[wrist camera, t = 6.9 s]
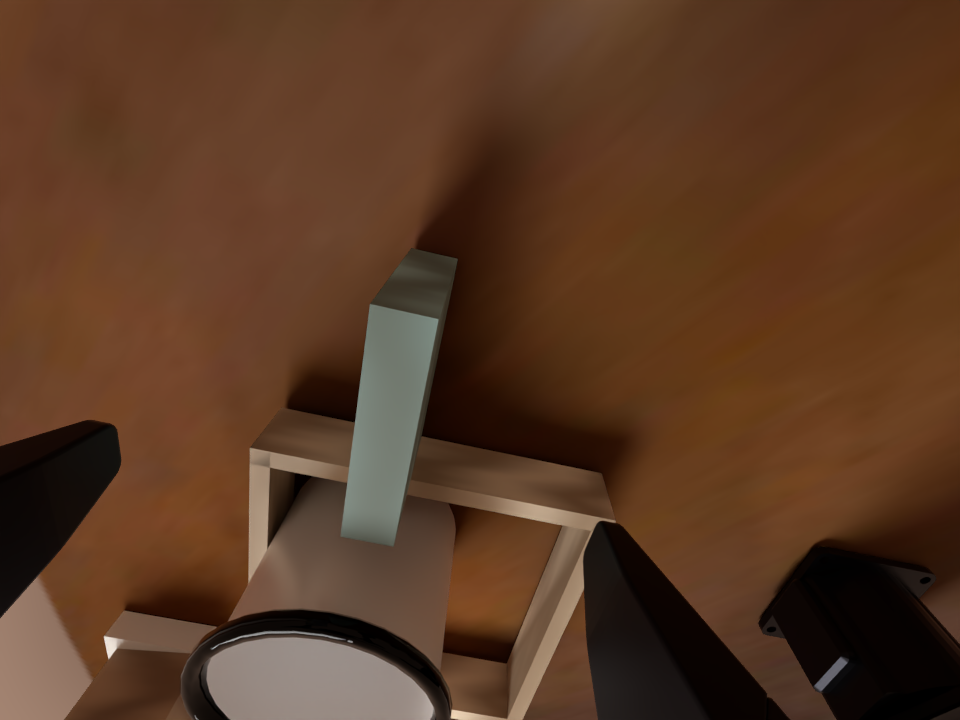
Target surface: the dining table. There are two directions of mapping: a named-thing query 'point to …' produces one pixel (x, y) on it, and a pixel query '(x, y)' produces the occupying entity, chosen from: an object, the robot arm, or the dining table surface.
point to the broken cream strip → (153, 634)
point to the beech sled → (430, 480)
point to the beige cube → (135, 688)
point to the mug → (333, 622)
